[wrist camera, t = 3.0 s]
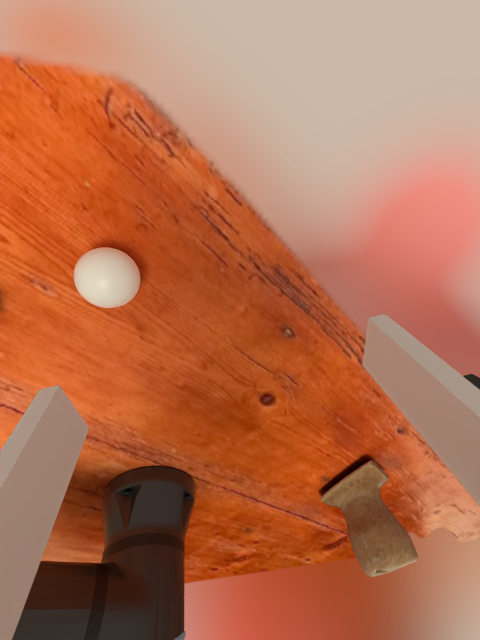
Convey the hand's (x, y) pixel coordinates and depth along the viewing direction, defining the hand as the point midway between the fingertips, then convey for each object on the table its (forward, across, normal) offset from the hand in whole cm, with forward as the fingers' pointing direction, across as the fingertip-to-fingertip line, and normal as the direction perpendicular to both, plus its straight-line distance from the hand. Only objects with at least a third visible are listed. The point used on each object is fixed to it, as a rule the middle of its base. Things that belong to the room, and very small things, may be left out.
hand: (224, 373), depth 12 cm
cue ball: (+16, +9, 0) cm, 18 cm away
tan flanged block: (+19, -21, +55) cm, 61 cm away
